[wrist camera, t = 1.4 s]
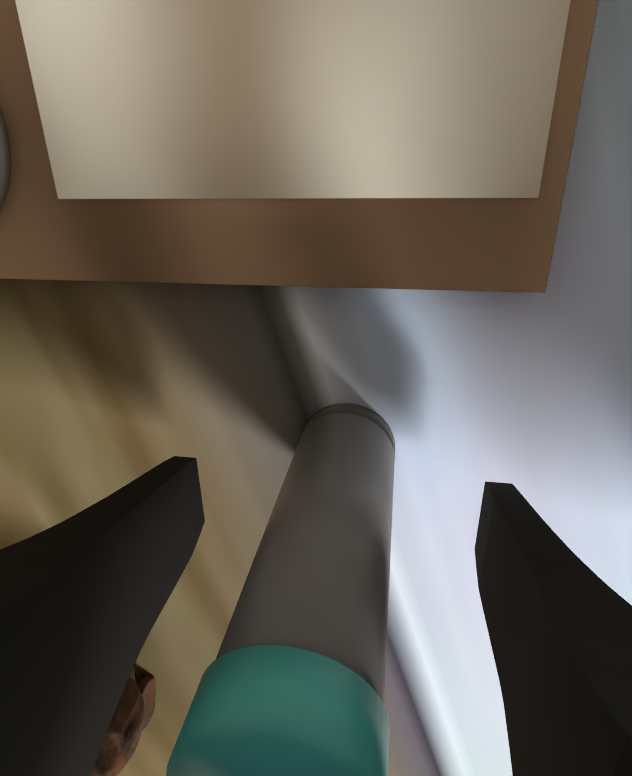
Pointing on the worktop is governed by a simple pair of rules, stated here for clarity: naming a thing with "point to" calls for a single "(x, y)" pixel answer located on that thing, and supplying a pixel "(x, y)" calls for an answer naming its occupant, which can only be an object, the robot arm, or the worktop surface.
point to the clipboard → (288, 140)
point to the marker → (307, 621)
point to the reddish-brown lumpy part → (126, 726)
